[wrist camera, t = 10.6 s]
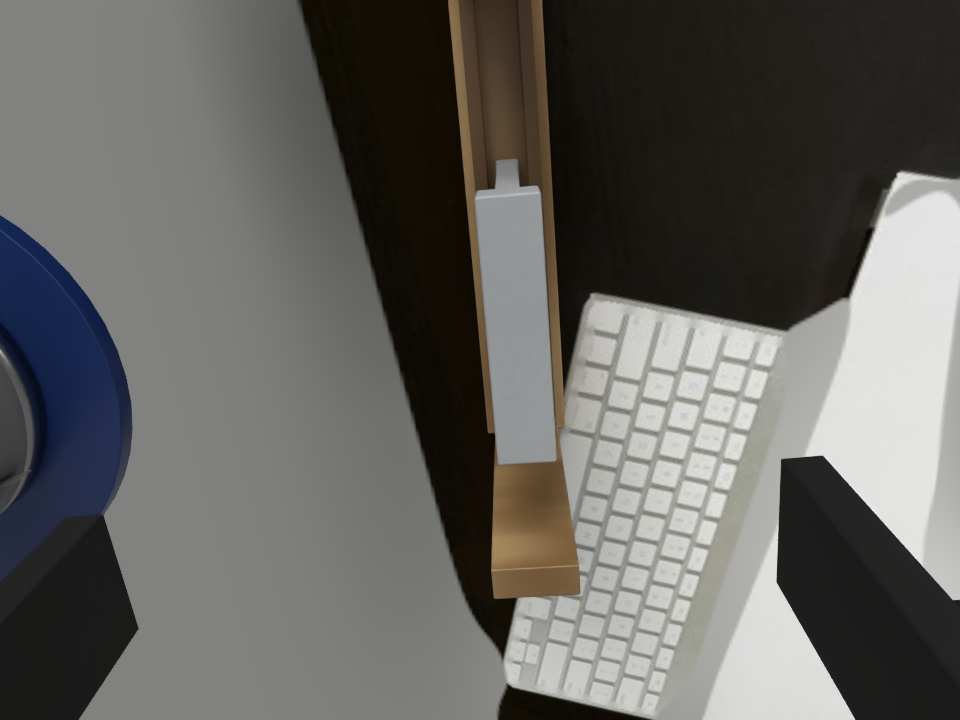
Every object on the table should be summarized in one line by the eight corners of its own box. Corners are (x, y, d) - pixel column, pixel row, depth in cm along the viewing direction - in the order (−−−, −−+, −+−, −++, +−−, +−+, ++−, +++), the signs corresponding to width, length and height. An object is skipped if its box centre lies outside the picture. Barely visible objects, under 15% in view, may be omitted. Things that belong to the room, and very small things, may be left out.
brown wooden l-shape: (488, 421, 40) (479, 600, 26) (445, -46, 33) (400, -150, 19) (563, 416, 40) (595, 594, 26) (537, -55, 32) (561, -169, 18)
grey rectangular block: (500, 347, 37) (497, 466, 25) (484, 160, 34) (473, 197, 22) (540, 344, 37) (557, 462, 25) (528, 157, 34) (541, 191, 22)
